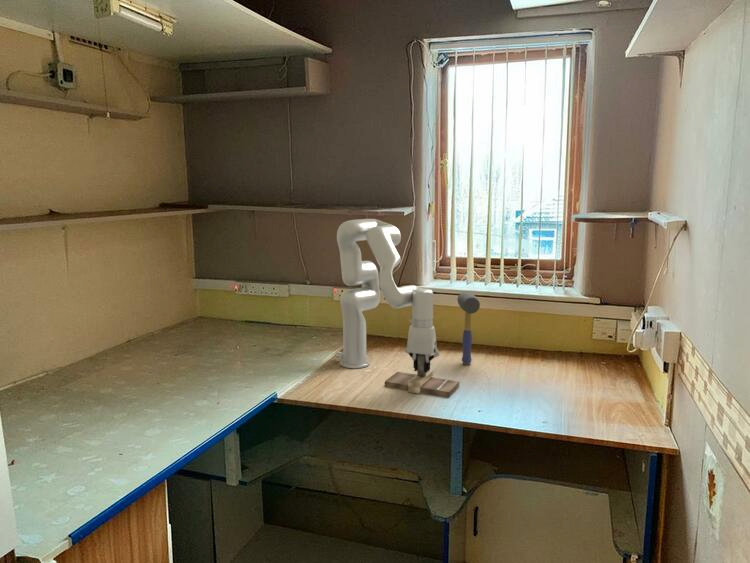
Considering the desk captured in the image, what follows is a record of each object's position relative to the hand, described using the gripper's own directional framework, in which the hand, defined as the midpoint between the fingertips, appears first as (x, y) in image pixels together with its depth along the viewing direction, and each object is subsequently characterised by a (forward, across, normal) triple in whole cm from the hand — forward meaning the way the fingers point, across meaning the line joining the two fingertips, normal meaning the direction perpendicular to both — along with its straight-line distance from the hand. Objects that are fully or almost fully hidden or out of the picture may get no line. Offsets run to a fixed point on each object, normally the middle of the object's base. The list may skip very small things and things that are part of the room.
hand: (421, 370), depth 212 cm
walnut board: (+6, 0, 0) cm, 6 cm away
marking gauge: (+6, 0, 0) cm, 6 cm away
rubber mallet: (+6, +8, +32) cm, 34 cm away
